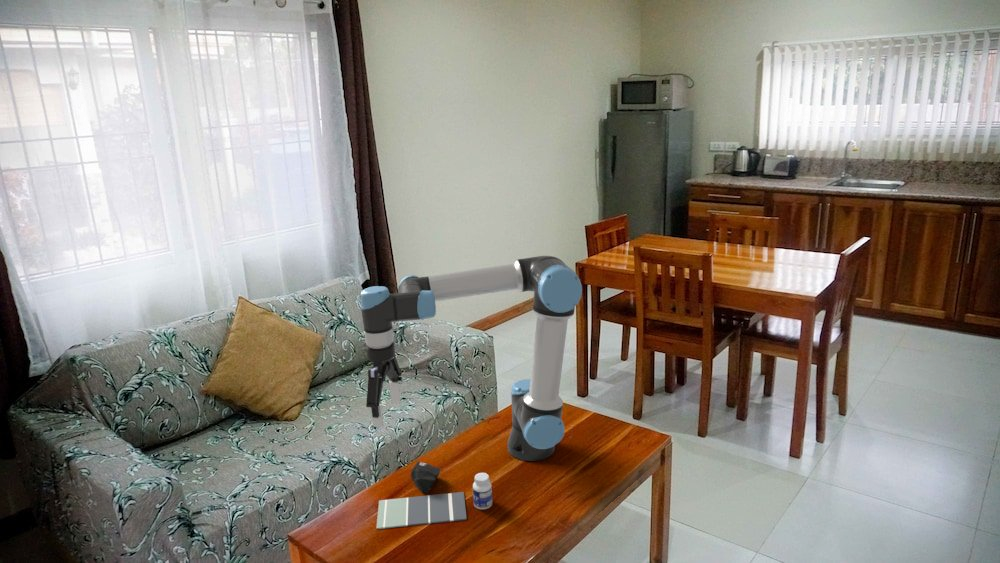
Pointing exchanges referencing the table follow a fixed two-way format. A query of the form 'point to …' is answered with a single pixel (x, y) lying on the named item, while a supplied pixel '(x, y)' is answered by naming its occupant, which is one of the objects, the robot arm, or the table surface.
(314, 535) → the table surface
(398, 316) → the robot arm
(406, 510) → the lane
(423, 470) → the rock
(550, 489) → the table surface
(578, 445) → the table surface
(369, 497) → the table surface
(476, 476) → the pill bottle
